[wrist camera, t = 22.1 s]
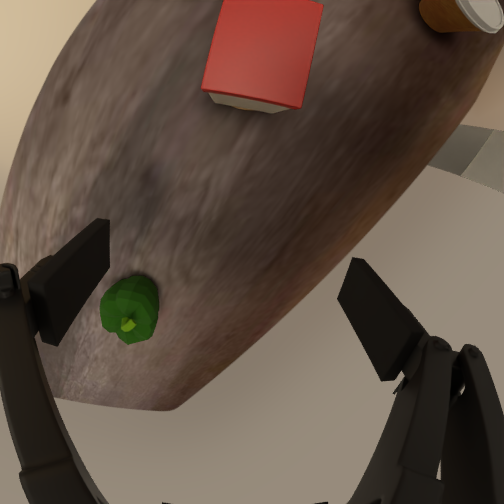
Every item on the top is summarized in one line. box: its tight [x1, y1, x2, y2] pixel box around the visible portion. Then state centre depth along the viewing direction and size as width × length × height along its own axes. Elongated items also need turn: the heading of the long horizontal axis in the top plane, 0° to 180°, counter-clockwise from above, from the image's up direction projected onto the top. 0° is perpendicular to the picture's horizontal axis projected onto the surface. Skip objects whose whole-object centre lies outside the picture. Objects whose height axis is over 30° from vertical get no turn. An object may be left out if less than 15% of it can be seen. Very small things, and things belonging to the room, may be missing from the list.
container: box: [201, 0, 324, 114], centre depth 24 cm, size 13×8×10 cm
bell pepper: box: [100, 276, 159, 345], centre depth 36 cm, size 8×8×10 cm
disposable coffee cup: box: [419, 0, 504, 33], centre depth 20 cm, size 10×10×12 cm
